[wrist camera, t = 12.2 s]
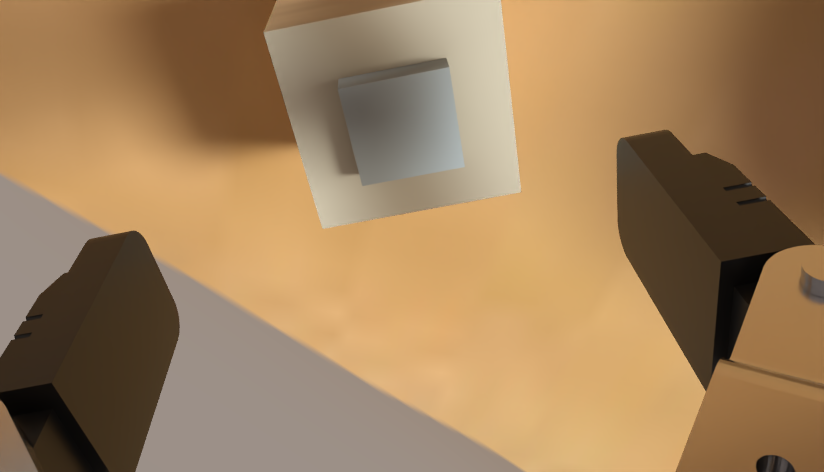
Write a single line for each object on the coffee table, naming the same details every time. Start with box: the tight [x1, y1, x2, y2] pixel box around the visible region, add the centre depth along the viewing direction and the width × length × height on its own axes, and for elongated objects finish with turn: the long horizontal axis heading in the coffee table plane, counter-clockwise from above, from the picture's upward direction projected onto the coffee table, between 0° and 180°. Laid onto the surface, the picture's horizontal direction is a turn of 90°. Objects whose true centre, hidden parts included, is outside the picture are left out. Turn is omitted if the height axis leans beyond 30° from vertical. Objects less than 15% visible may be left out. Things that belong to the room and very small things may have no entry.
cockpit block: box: [263, 0, 521, 229], centre depth 18 cm, size 5×5×6 cm
